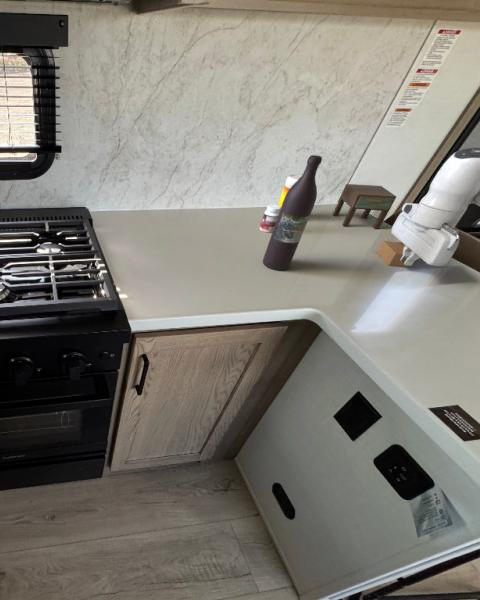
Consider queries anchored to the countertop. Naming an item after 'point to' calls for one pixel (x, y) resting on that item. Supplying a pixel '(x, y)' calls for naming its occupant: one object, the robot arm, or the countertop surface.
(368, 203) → the drawer table
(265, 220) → the pill bottle
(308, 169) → the wine bottle
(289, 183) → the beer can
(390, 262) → the storage box
